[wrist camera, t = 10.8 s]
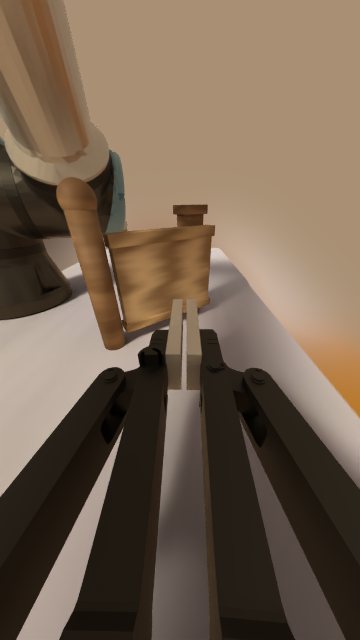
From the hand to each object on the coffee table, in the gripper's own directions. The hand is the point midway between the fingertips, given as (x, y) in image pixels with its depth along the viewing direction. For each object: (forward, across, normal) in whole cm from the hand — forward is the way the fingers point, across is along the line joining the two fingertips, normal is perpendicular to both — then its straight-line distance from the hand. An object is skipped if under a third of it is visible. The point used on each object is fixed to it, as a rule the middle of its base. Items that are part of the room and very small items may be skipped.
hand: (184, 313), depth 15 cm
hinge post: (+5, -9, -7) cm, 12 cm away
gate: (+10, -2, -6) cm, 11 cm away
